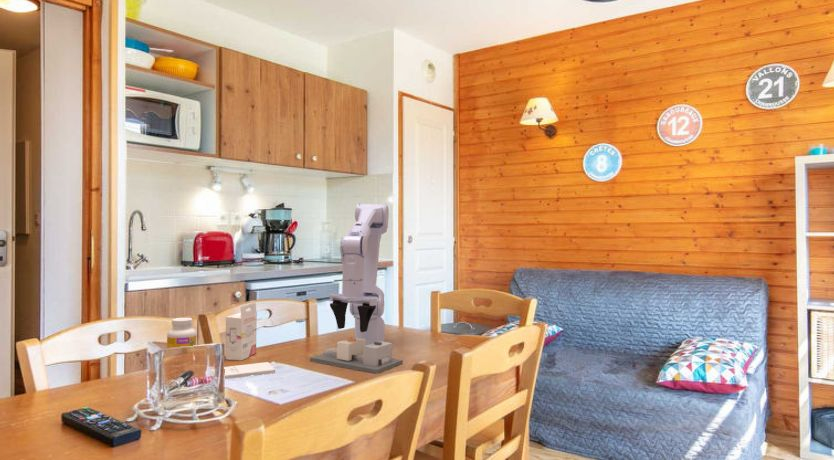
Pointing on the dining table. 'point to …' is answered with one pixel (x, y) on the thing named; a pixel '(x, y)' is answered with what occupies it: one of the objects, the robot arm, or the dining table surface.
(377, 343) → the module
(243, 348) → the ink cartridge box
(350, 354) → the din module
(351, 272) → the robot arm
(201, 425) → the dining table surface
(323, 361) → the mounting board
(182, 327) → the supplement bottle
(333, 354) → the din rail
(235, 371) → the external hard drive
